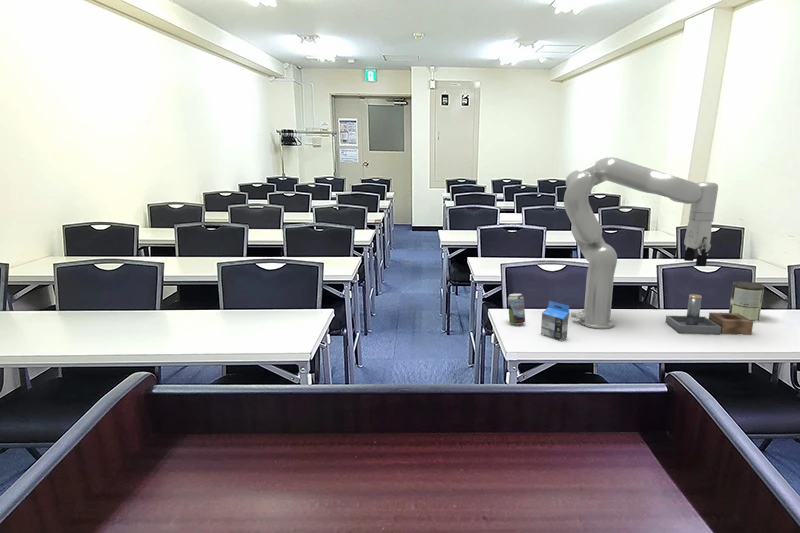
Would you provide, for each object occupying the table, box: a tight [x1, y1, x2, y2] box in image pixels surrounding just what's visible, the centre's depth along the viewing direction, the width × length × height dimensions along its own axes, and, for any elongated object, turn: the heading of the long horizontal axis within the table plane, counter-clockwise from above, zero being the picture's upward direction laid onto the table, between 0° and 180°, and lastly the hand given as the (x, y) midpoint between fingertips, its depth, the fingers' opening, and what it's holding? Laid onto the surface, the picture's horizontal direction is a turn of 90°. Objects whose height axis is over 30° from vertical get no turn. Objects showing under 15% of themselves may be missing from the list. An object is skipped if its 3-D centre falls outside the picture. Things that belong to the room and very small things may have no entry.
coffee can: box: [728, 280, 766, 323], centre depth 189 cm, size 10×10×14 cm
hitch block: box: [708, 311, 754, 336], centre depth 177 cm, size 10×10×5 cm
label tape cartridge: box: [540, 300, 570, 342], centre depth 171 cm, size 9×4×12 cm, turn 37°
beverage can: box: [507, 293, 526, 325], centre depth 185 cm, size 6×7×12 cm
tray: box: [665, 314, 721, 336], centre depth 179 cm, size 14×12×3 cm
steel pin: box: [686, 293, 703, 326], centre depth 178 cm, size 4×4×12 cm
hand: (694, 263), depth 175 cm, fingers open, 9 cm apart
